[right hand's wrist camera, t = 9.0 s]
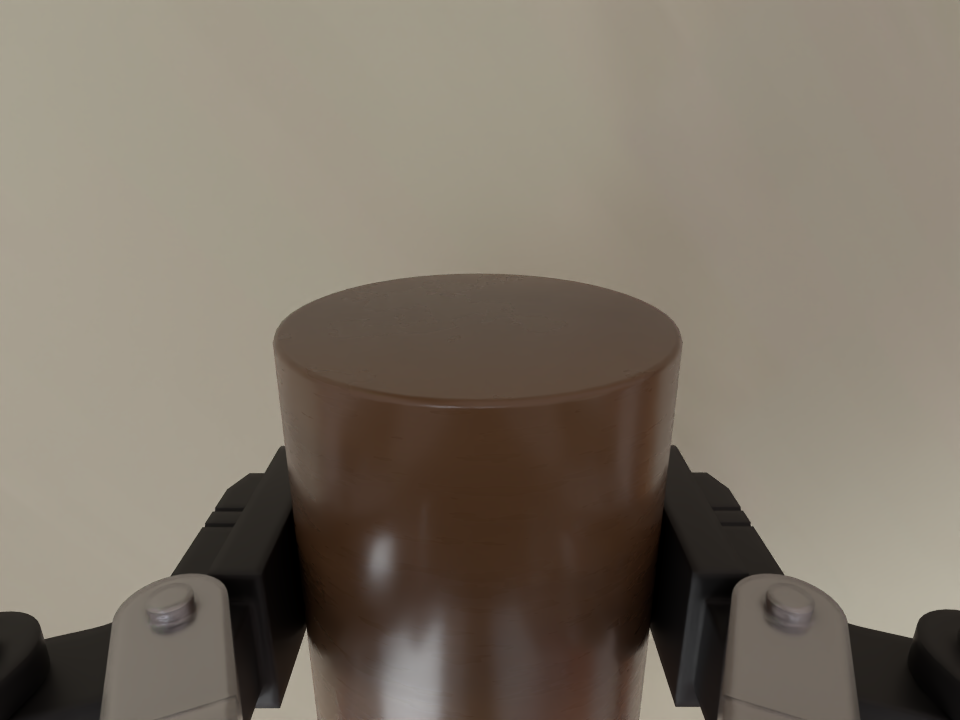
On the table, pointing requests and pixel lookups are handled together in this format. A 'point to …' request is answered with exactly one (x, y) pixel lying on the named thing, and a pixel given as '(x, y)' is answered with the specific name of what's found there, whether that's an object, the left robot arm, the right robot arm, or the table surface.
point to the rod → (477, 494)
